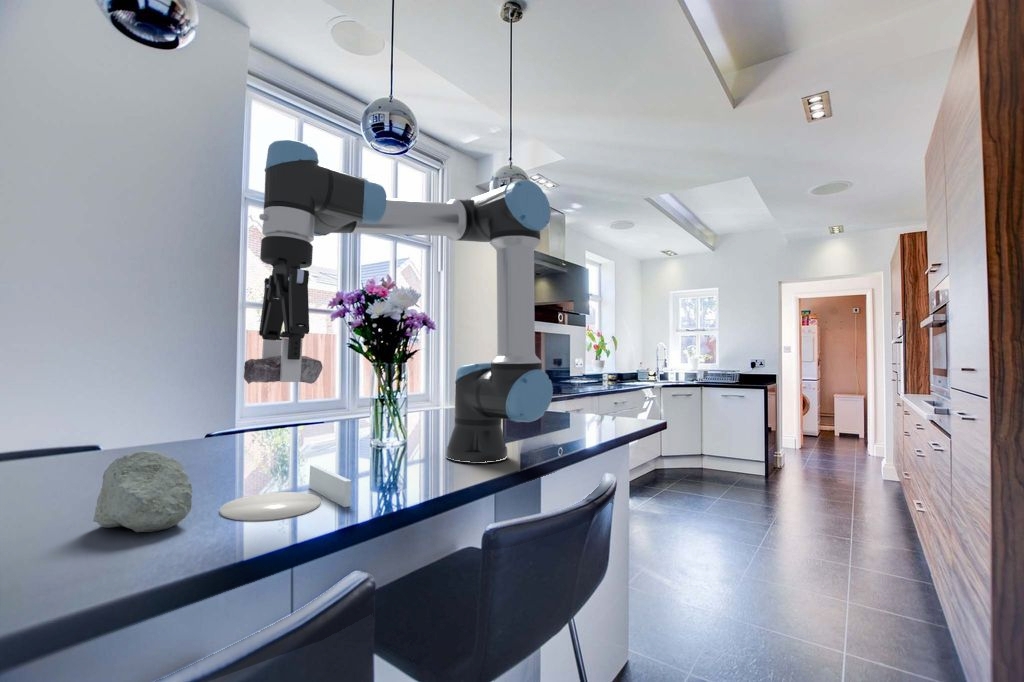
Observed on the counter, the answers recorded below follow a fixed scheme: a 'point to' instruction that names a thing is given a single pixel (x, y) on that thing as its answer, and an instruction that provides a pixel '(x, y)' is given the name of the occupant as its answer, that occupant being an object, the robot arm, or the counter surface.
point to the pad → (270, 506)
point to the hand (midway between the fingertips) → (279, 380)
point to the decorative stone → (144, 493)
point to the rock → (271, 369)
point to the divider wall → (330, 485)
